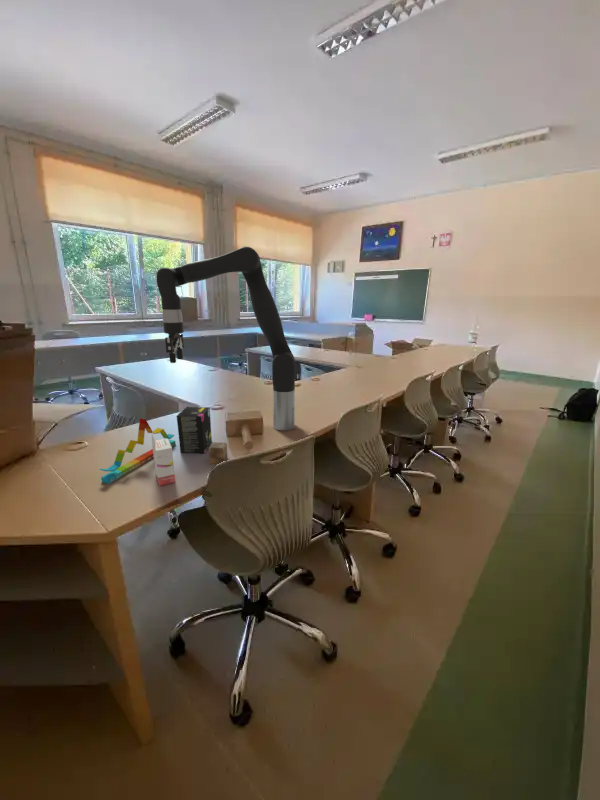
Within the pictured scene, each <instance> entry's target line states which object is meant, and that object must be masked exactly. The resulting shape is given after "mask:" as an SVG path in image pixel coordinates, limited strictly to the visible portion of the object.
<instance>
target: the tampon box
mask: <svg viewBox="0 0 600 800" xmlns="http://www.w3.org/2000/svg"><path fill="white" fill-rule="evenodd" d="M176 422H177V423H176V425H177V433H178V441H179V452H180V453H183V454H184V453H186V454H187V453H188V454H206V452H207V450H209V447H210V446H211V444H212V442H213V437H212V423H211V407H207V406H205V407H202V406H186V407H185V408H184V409H183V410H182V411H181V412H178V414H177V415H176Z"/></svg>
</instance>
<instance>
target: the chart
mask: <svg viewBox="0 0 600 800" xmlns="http://www.w3.org/2000/svg"><path fill="white" fill-rule="evenodd" d="M138 423H139V424H138V431H137V432H138V433H137V440H133V439H129V442H128V443H127V447H126V449H125V450H123V449H118V451H117V453H116V457H115V460H114V463H113V464H111V465H110V466H109V467H108V468H99V470H100V471H104V472H108V473H106V474H104V475H102V476H101V477H100V479H101V482H102V483H106V484H111V483H113V482H114V481H116V480H118V479H120V478H121V477H124V476H125V475H127V474H128V473H131V471H132V472H133V470H135V469H137V468H138V467H140V466H142V465H143V464H146V463H147V462H149V461H151V460H153V459H154V455H153V448H152V449H149V450H148V451H146V452H144V453H143V454H141V455H139V456H137V457H135V458H133V459H132V460H129V461H127V462H126V463H124V464H123V459H124V456H125V454H126V453H128V454H129V453H130V454H133V451H134V449H135V446H136V445H142V446H144V444H145V443H144V441H145V433H146V432H147V434H152V433H153V435H154V434H160V435H161V436H162V437H163V438H162V439H167V438H168V440H169V442H170V444H171V447H172V448H173V447H174V446H176V440H173V439H172V438H173V437H174V436H175V434H172V433H171V434H170V433H168V434H167V433H166V431H165V429H164V428H161V427H157V428H155V429H154V430H152V428H151V426H150V424H149V422H148V421H147V419H145V418H139V422H138ZM145 431H146V432H145ZM171 439H172V440H171ZM122 464H123V465H122Z"/></svg>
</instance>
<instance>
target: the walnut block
mask: <svg viewBox="0 0 600 800" xmlns="http://www.w3.org/2000/svg"><path fill="white" fill-rule="evenodd" d="M208 456H209V457H208V458H209V465H214V466H216V465H217V464H219V463H221V462H223V461H226V462H227V460H228V443H227V442H219V441H218V442H217V441H214V442H213V441H212V443H211V444H210V446H209V447H208ZM217 466H218V465H217Z"/></svg>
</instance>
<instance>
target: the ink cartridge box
mask: <svg viewBox="0 0 600 800" xmlns="http://www.w3.org/2000/svg"><path fill="white" fill-rule="evenodd" d="M169 440H170V439H168V438H167V439H165V438H162V439H157V440H156V439H155V436H154V434H153V433H151V445H152V447H151V448H152V449H153V455H154V458H153V463H154V470H155V472H154V473H155V476H156V479H157V481H158V484H159V487H161V486H164V485H169V484H175V483H176V476H175V475H176V474H175V466H174V456H173V447H171V444H170V442H169Z"/></svg>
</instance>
